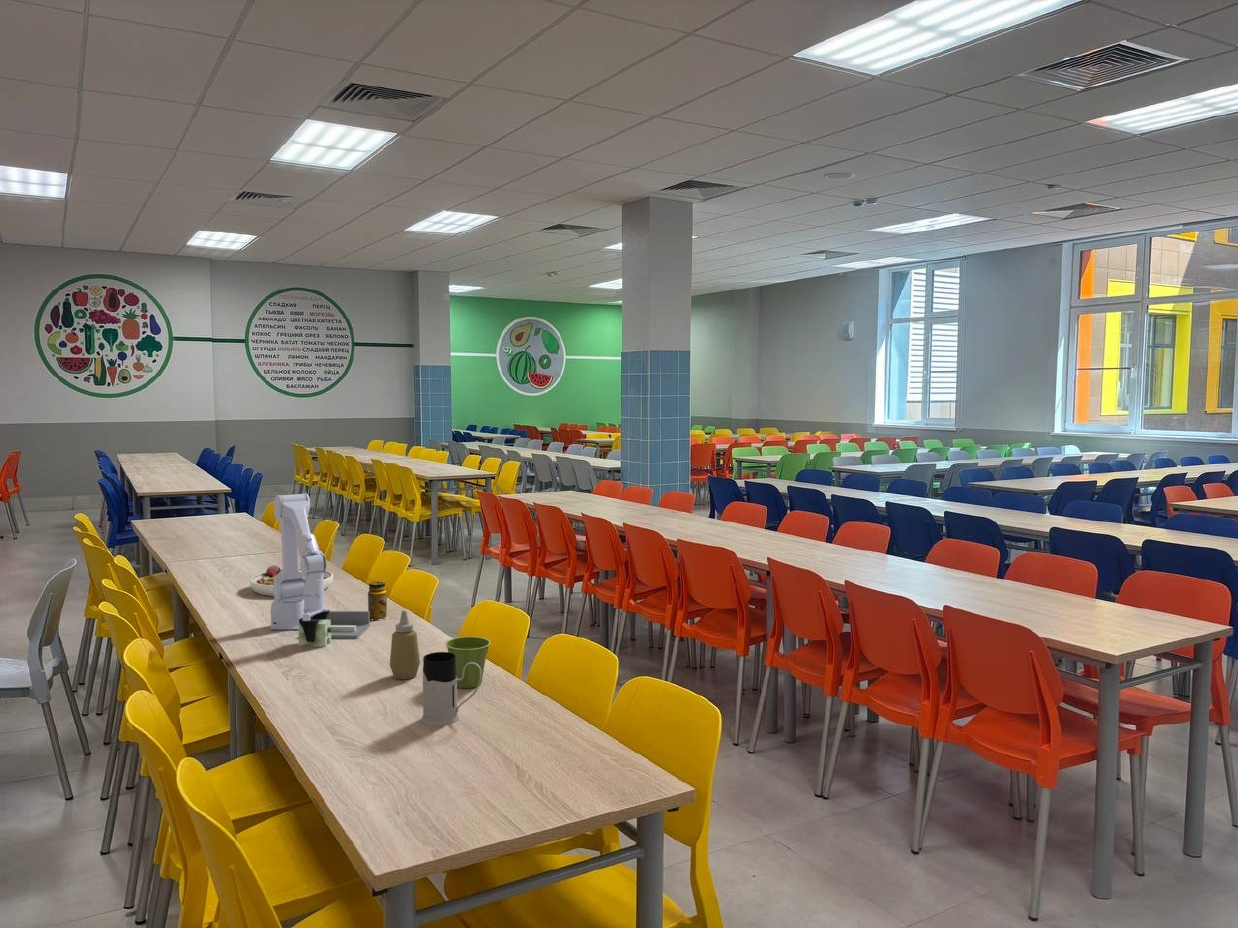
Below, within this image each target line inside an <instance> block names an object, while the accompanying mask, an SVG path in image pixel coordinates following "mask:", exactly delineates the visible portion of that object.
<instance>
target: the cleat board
mask: <svg viewBox="0 0 1238 928" xmlns="http://www.w3.org/2000/svg"><path fill="white" fill-rule="evenodd" d="M326 620H331V627H332V632H331V639H342V640H343V639H345V640H346V639H348V640H349V639H353V640H354V639H356V640H357V639H358V638H360V637H361V635H362V634H364V633H365V632H366V630H367V629H368V628H370V627H371V621H370V611H368V610H329V614H328V616H327V619H326Z"/></svg>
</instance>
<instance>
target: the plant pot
mask: <svg viewBox="0 0 1238 928" xmlns="http://www.w3.org/2000/svg"><path fill="white" fill-rule="evenodd" d="M491 643H492V642H491V640H490V639H488V638H486V637H481V636H473V635H472V636H470V635H469V636H459V637H454V638H451V639H448V640H446V641H445V642H444V645H445V647H446V648H447V652H449V653H453V654H455V655H456V676H457V679H461V678H462V671H463V668H464V666H465V665H466V664H467V663H470V662H474V663H477V664H478V665H479V666H480V668H481V673H482V674H481V682H480V685H481V684H482V682H483V677H484V671H485V669H484V668H485V664H486V659H487V654H488V652H489V651H488V650H489V647H490V645H491ZM479 678H480V671H479V668H478V667H477V666H476V665H474V664H469V665H467V666H466V668H465V670H464V678H463V679H462V680H460V681H457V688H460V689H463V688H468V689H473V688H477V686H478V683H479ZM480 685H479V686H480Z"/></svg>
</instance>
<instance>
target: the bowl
mask: <svg viewBox="0 0 1238 928" xmlns="http://www.w3.org/2000/svg"><path fill="white" fill-rule="evenodd" d="M282 570H283V568H282V569H281V568H280V566H278V565H271V566H269V567H268V568H267V569H266V572H264V573H260V574H257V575H255V576H252V577H251V578H250V579H249V580H250V581H249V583H250V584H249V585H250V588H251V589H252V590H253V591H254V592H255V593H257V594H259V595H261V596H266V595H267V597H274V594H273V584H274V577H275V576H276V575H277V574H278V573H279V572H281V571H282ZM298 570H300V571H301V568H298ZM323 575H324V590H327V589H328V588H329V587H330V586H331V585H332V584H333V581H334V573H333V572H331V571H329V570H326V571H325V572H323ZM297 579H299V578H297ZM289 580H291V579H289Z"/></svg>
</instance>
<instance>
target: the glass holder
mask: <svg viewBox="0 0 1238 928" xmlns="http://www.w3.org/2000/svg"><path fill="white" fill-rule="evenodd" d="M422 659H423V661H422V662H423V663H422V664H423V665H422V712H423V714H422V717H421V719H420V722H421V723H423V724H424V725H427V726H430V727H443V726H449V725H452V724H453V725H454V724H455V723H457V722H458V721H459V720H458V719H460V715H459V714H458V712H459V708H460V707H461V706H462V705H464V704H465V703H466V702H467V701H469V700H470V699H471V698H472V697H473V696H474V695H475V694H477V691H478V689H479V687H480V682H481V674H482V673H481V668H480V666H479V665H478V664H477V663H474V662H470V663H467V664H466V665H465V666H464V668H463V671H462V678H461V679H457V676H456V655H455V654H453V653H449V652H448V651H438V652H431V653H427V654H425V655H424V656H423V657H422ZM469 664H474V665H476V666H477V667H478V668H479V671H480V678H479V683H478V686H477V687H475V690H474V691H473V692H472V693H471V694H470V695H469V696H468V697H467V698H465V699H464V700H462V702H461V703H460V704H459V705H458V687H457V681H460V680H462V679H463V678H464V670H465V668H466V666H467V665H469ZM481 683H482V682H481Z"/></svg>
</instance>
